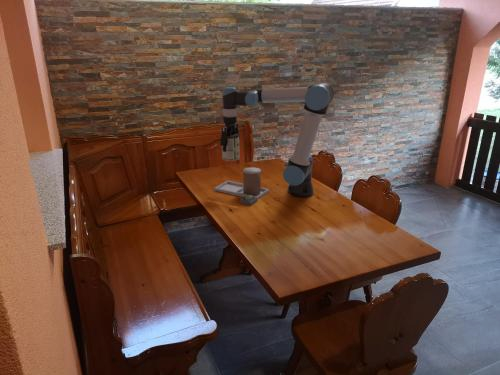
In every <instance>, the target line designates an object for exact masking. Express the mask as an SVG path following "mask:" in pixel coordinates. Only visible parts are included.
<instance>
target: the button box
mask: <svg viewBox="0 0 500 375" xmlns="http://www.w3.org/2000/svg"><path fill="white" fill-rule="evenodd" d="M258 200H259V199H258V198H257V197H253V199H252V200H251V201H249V200H245V197H241V198H239V202H240V204H244V205H247V206H253V205H254V204H255V203H257V202H258Z"/></svg>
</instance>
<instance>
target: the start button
mask: <svg viewBox="0 0 500 375" xmlns="http://www.w3.org/2000/svg"><path fill="white" fill-rule="evenodd" d="M252 199H253V196H252V195H245V200H249V201H251V200H252Z"/></svg>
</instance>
